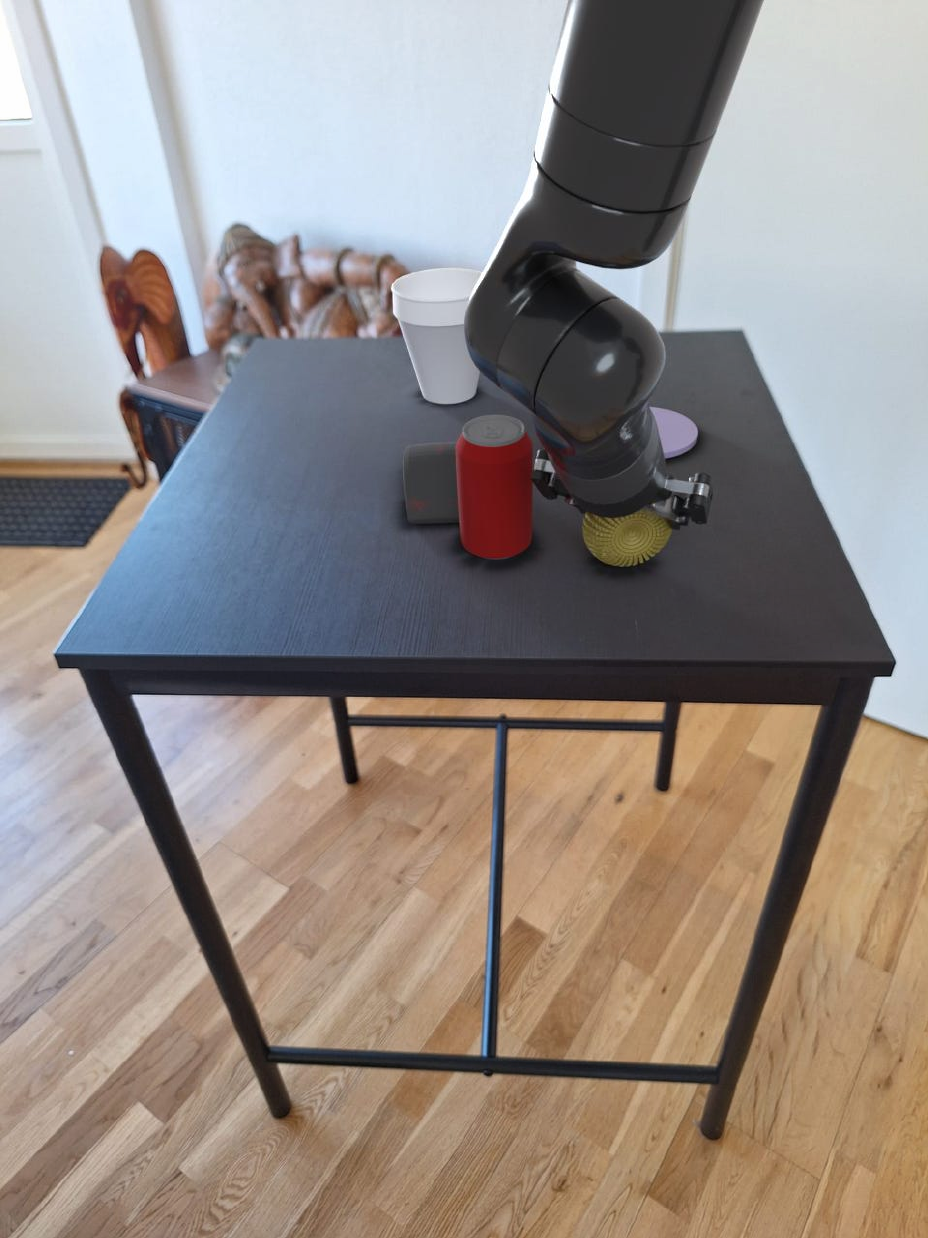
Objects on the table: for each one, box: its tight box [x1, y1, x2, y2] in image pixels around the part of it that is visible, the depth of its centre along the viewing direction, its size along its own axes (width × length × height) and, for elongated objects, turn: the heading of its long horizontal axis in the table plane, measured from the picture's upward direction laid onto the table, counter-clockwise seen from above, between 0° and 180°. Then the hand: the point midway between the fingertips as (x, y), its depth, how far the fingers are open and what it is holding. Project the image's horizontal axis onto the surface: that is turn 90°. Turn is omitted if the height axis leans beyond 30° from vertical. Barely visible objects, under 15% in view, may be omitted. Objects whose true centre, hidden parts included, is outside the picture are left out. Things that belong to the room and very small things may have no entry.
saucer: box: [649, 406, 699, 459], centre depth 95 cm, size 12×12×1 cm
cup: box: [390, 267, 483, 405], centre depth 103 cm, size 12×12×14 cm
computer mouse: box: [402, 441, 460, 525], centre depth 87 cm, size 8×14×4 cm, turn 179°
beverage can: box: [455, 414, 534, 561], centre depth 76 cm, size 7×7×12 cm
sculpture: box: [581, 503, 673, 568], centre depth 74 cm, size 8×4×8 cm, turn 97°
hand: (632, 510), depth 74 cm, fingers closed on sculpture, 7 cm apart
